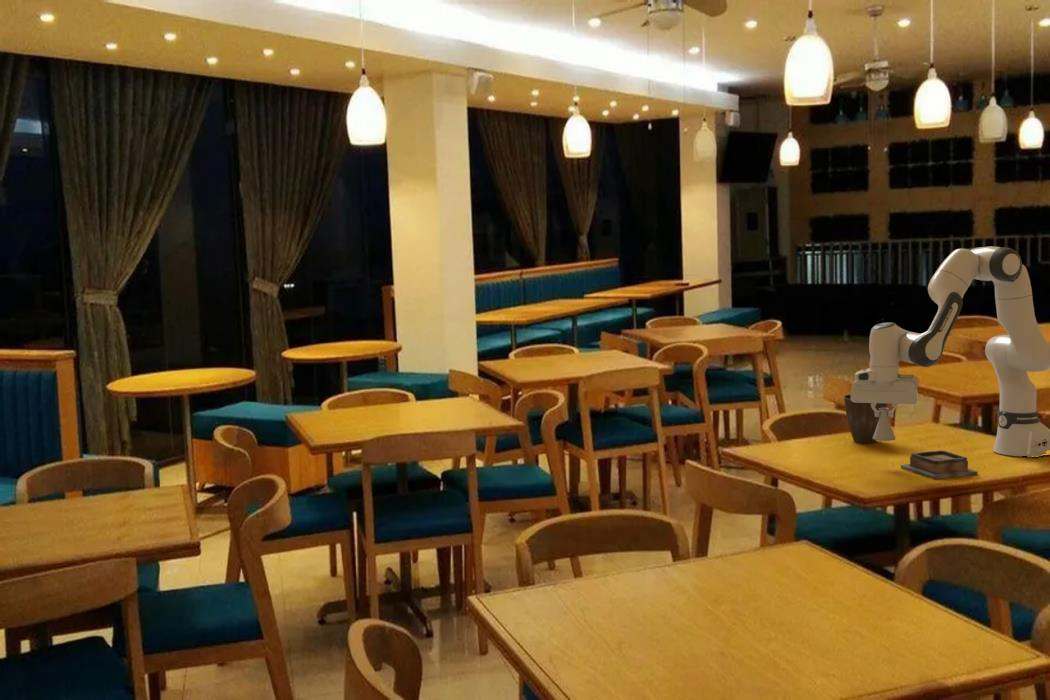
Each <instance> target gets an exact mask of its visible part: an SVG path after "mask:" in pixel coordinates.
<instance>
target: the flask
mask: <svg viewBox="0 0 1050 700" xmlns="http://www.w3.org/2000/svg"><path fill="white" fill-rule="evenodd" d="M879 411H880V417H879V421H878V424H877V427H876V430H875V433H874V435H873V438H872V439H874V440H876V442H877V441H880V442H882V441H883V442H889V441H891V442H892V441H896V435H895V433H894V430H893V427H892V425H891V422H890V417H888V411H890V408H889V407H887V408H879Z"/></svg>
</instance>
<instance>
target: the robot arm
mask: <svg viewBox="0 0 1050 700" xmlns="http://www.w3.org/2000/svg"><path fill="white" fill-rule="evenodd" d="M1022 262H1023V260H1022V257H1021V256H1020V254H1019V253H1018V251H1016V250H1015V249H1013V248H1010V247H1006V246H1003V247H1002V246H1001V247H1000V246H991V245H990V246H981V247H978V246H974V247H970V248H957V249H954V250H953V251H952V252H950V253H949V255H948V256H947V257H946V258H945V259H944V260H943V262H941V264H940V265H939V267H938V268H937V269H936V271H935V273H934V274H933V275H932V277H931V278H930V280H929V283H928V285H927V292H928V296H929V297H930V300H931V301H933V302H934V303H935V304H936V305H937V306H938V310H937V312H936V314H935V316H934V318H933V320H932V321H931V323H930V325H929V327H928V329H927V331H925V332H922V333H918V332H914V331H909V330H906V329H904V328H901V327H900V326H898V325H897V324H896V323H895V322H892V321H891V322H881V323H877V324H875V325H874V326H873V327H872V328H871V330H870V333H869V339H868V340H869V342H868V344H869V345H868V346H869V347H868V348H869V349H868V353H869V355H870V360H869V362H868V363H869V364H868V368H865V369H861V370H858V371H857V372H856V371H855V372H856V373H855V374H854V381H853V383H852V385H851V388H850V389H851V390H850V394H851V401H852V402H854V403H871V407H872V409H873V410H874V412H875V417H880V411H877V409H876V408H875V406H876V403H887V405H889V404H891V407H892V409H891V410H889V411H888V417H889V418H894V412H895V410H896V408H897V407H898V405H916V404H917V403H918V399H919V398H918V397H919V396H918V394H919V393H918V388H919V385H920V384H919V383H920V381H919V380H920V379H919V378H918V377H917V376H915V375H914V374H900V371H899V370H900V369H899V365H900V361H902V362H906V363H910V364H914V365H918V366H920V367H923V368H929V367H932V366H934V365H936V364H937V363H938V362H939V361H940V359H941V357H942V356H943V352H944V348H945V345H946V342H947V339H948V337H949V336H950V334H951V332H952V329H953V327H954V326H955V323H956V322H957V320H958V318H959V315H960V314H961V311H962V308H963V303H964V301H963V298H964V295H965V293H966V292H967V291H968V288H969V287H970V286H971V284H972V282H973V281H974V280H976V281H977V280H979V281H982V282H983V281H984V282H985V281H986V282H992V283H993V286H994V299H995V308H996V316H997V321H998V323H999V325H1001V326H1002V327H1003V328H1004V329H1005V331H1006V333H1007V334H1001V335H995V336H993V337H991V338H989V339H988V341H987V342H986V344H985V349H984V354H985V356H986V359H987V360H988V361H989V363H991V365H992V367H993V369H994V371H995V374H996V377H997V381H998V385H999V386H998V388H999V408H998V410H997V423H998V426H997V431H996V436H995V437H996V438H995V441H994V446H993V448H992V451H993V453H996V454H999V455H1003V456H1011V457H1022V456H1027V458H1032V456H1034V457H1036V456H1041V455H1043V454H1046V451H1047V450H1050V429H1049V428H1048V427H1047V426H1046V425H1045V424H1044V423H1042V422H1041V419H1046V417H1047V415H1048V414H1047V413H1046V412H1044V411H1040V412H1038V411H1037V388H1036V385H1035V384H1034V383H1033V382H1032V381H1031V379H1030V377H1029V375H1028V372H1030V373H1035V372H1038V373H1039V372H1044V371H1048V370H1049V369H1050V342H1049V341H1048V340H1047V339H1046V337H1045V336H1044V335H1043V333H1042V330H1041V329H1040V326H1039V324H1038V322H1037V318H1036V315H1035V306H1034V301H1033V291H1032V285H1031V279H1030V276H1029V275H1030V274H1029V272H1028V270H1027V267H1026V266H1025V265H1024V264H1023V263H1022ZM1040 418H1041V419H1040Z"/></svg>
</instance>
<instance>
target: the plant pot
mask: <svg viewBox="0 0 1050 700" xmlns="http://www.w3.org/2000/svg"><path fill="white" fill-rule="evenodd" d="M843 402H844V409H845V415H846V419H847V423H848V428H849V430H850V434H851V436H852V439H853V442H855V443H857V442H858V443H857V444H874V443H876V442H877V440H874V439H872V438H873V435H874V433H875V430H876V427H877V424H878V421H879V417H875V412H874V410H873V409H872V407H871V403H854V402H852V401H851V393H850V394H846V395H844V396H843ZM875 408H876V409H877V411H879V408H888V403H876V406H875Z"/></svg>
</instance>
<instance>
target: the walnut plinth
mask: <svg viewBox="0 0 1050 700" xmlns="http://www.w3.org/2000/svg"><path fill="white" fill-rule="evenodd" d="M900 469H901V470H905V469H906V470H905V471H907V470H909V471H908V472H910V471H912V472H911V473H913V472H915V473H914V474H916V473H918V474H917V475H919V474H921V475H920V476H922V475H923V476H922V477H925V476H926V478H928V477H929V479H930V478H932V479H931V480H933V479H934V480H940V478H943V479H950V477H952V478H960V477H959V476H961V477H968V476H967V475H970V476H977V475H978V472H979V471H977V470H974V469H971V468H969V461H968V457H966V456H963V455H959V454H957V453H953V452H949V451H947V450H931V451H930V450H929V451H920V452H913V453H911V454H910V456H909V463H906V464H900Z"/></svg>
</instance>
